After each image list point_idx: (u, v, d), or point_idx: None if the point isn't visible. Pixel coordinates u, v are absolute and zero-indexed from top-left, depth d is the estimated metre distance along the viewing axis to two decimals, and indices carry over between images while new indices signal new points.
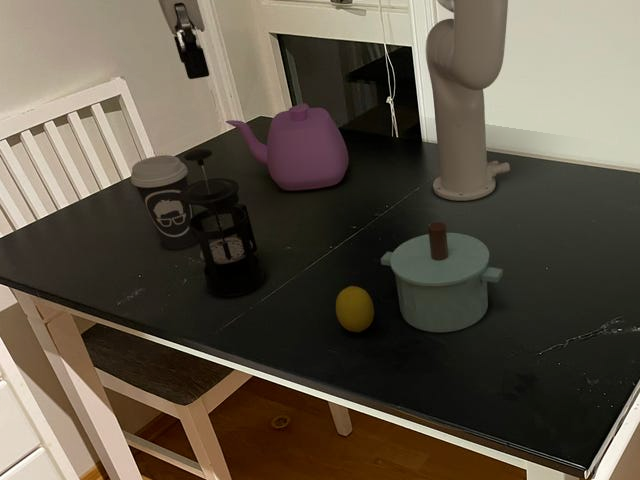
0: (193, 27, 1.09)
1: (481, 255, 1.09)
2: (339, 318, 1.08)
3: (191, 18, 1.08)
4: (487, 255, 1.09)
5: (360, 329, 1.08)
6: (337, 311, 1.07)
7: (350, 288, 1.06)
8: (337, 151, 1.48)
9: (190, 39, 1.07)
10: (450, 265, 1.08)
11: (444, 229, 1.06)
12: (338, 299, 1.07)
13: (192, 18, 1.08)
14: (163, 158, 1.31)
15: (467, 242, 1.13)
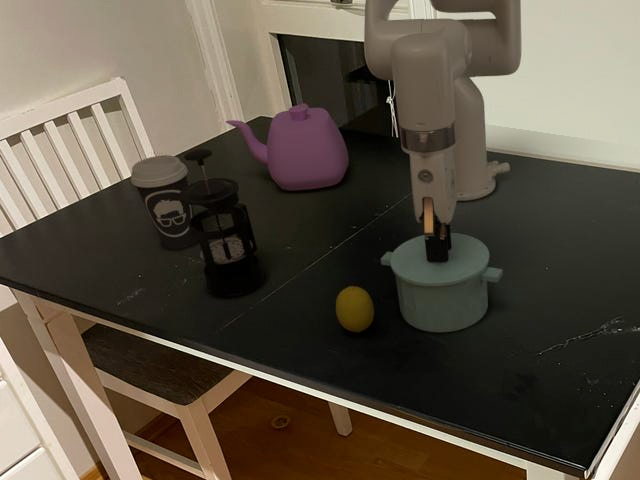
0: None
1: (481, 255, 1.09)
2: (339, 318, 1.08)
3: (437, 212, 1.00)
4: (487, 255, 1.09)
5: (360, 329, 1.08)
6: (337, 311, 1.07)
7: (350, 288, 1.06)
8: (337, 151, 1.48)
9: None
10: (450, 265, 1.08)
11: (444, 229, 1.06)
12: (338, 299, 1.07)
13: None
14: (163, 158, 1.31)
15: (467, 242, 1.13)
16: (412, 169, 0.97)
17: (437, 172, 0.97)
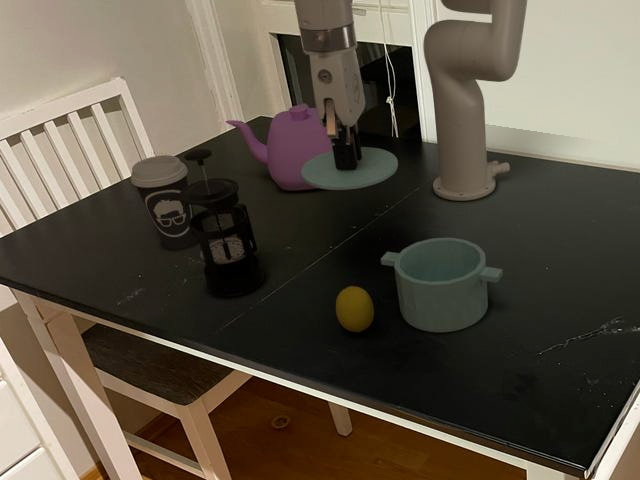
0: (345, 125, 1.06)
1: (389, 164, 1.13)
2: (339, 318, 1.08)
3: (338, 114, 1.03)
4: (395, 164, 1.13)
5: (360, 329, 1.08)
6: (337, 311, 1.07)
7: (350, 288, 1.06)
8: None
9: None
10: (358, 172, 1.11)
11: (351, 136, 1.10)
12: (338, 299, 1.07)
13: None
14: (163, 158, 1.31)
15: (378, 154, 1.16)
16: (312, 69, 1.00)
17: (336, 72, 1.00)
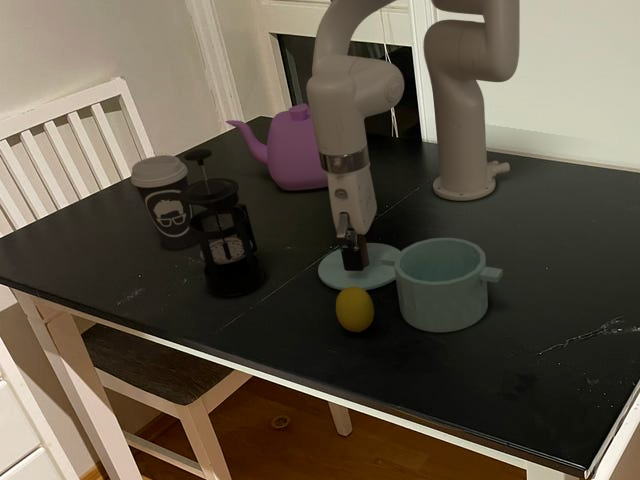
0: (355, 230, 1.16)
1: None
2: (339, 318, 1.08)
3: (353, 225, 1.14)
4: None
5: (360, 329, 1.08)
6: (337, 311, 1.07)
7: (350, 288, 1.06)
8: None
9: (344, 245, 1.14)
10: (369, 272, 1.22)
11: (363, 241, 1.21)
12: (338, 299, 1.07)
13: (354, 225, 1.14)
14: (163, 158, 1.31)
15: None
16: (329, 188, 1.12)
17: (351, 190, 1.11)
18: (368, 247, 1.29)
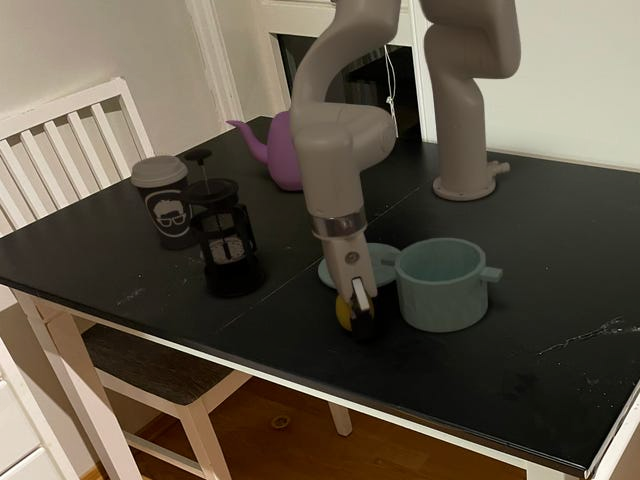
0: (365, 296, 1.04)
1: None
2: (339, 318, 1.08)
3: (366, 288, 1.02)
4: None
5: None
6: (337, 311, 1.07)
7: None
8: None
9: (364, 313, 1.03)
10: None
11: None
12: (338, 299, 1.07)
13: (368, 293, 1.03)
14: (163, 158, 1.31)
15: None
16: (337, 254, 0.98)
17: (363, 251, 0.99)
18: (368, 247, 1.29)
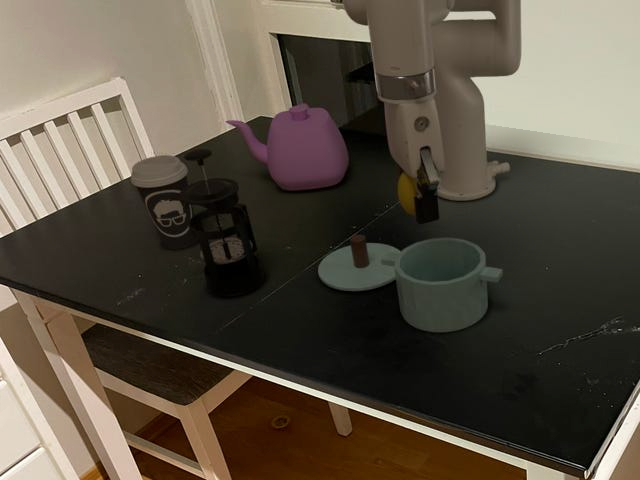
0: None
1: None
2: (402, 199, 1.01)
3: (435, 161, 0.95)
4: None
5: None
6: (400, 192, 1.01)
7: None
8: (337, 151, 1.48)
9: None
10: (369, 272, 1.22)
11: (363, 241, 1.21)
12: (401, 178, 1.00)
13: (435, 167, 0.96)
14: (163, 158, 1.31)
15: None
16: (407, 119, 0.91)
17: (433, 117, 0.92)
18: (368, 247, 1.29)
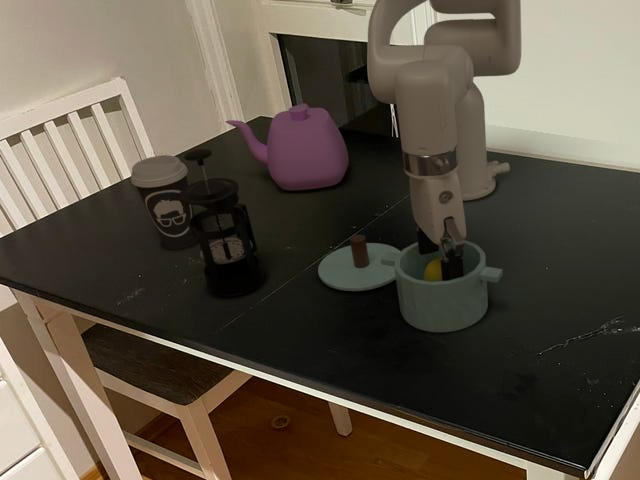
0: None
1: None
2: None
3: (457, 229, 1.02)
4: None
5: None
6: None
7: (439, 259, 1.10)
8: (337, 151, 1.48)
9: (458, 253, 1.02)
10: (369, 272, 1.22)
11: (363, 241, 1.21)
12: (427, 270, 1.11)
13: (458, 229, 1.03)
14: (163, 158, 1.31)
15: None
16: (432, 193, 0.99)
17: (456, 190, 0.99)
18: (368, 247, 1.29)
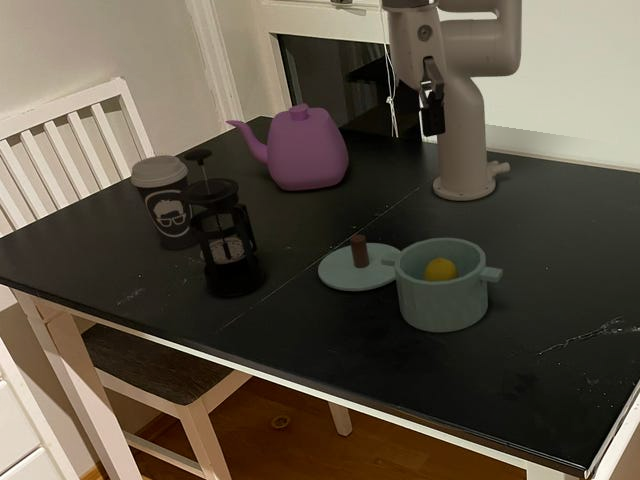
0: None
1: None
2: None
3: None
4: None
5: None
6: None
7: (439, 259, 1.10)
8: (337, 151, 1.48)
9: (439, 96, 0.96)
10: (369, 272, 1.22)
11: (363, 241, 1.21)
12: (427, 270, 1.11)
13: (438, 72, 0.97)
14: (163, 158, 1.31)
15: None
16: (410, 27, 0.93)
17: (436, 26, 0.94)
18: (368, 247, 1.29)
